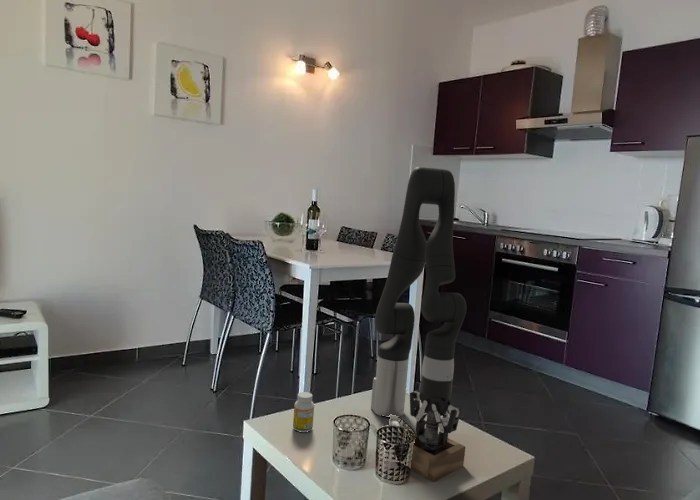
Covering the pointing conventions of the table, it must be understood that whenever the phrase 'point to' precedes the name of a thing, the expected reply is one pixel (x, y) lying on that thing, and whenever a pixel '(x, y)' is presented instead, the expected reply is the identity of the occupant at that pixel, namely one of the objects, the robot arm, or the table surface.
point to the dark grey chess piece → (430, 435)
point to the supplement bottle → (303, 412)
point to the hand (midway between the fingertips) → (430, 440)
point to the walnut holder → (437, 459)
